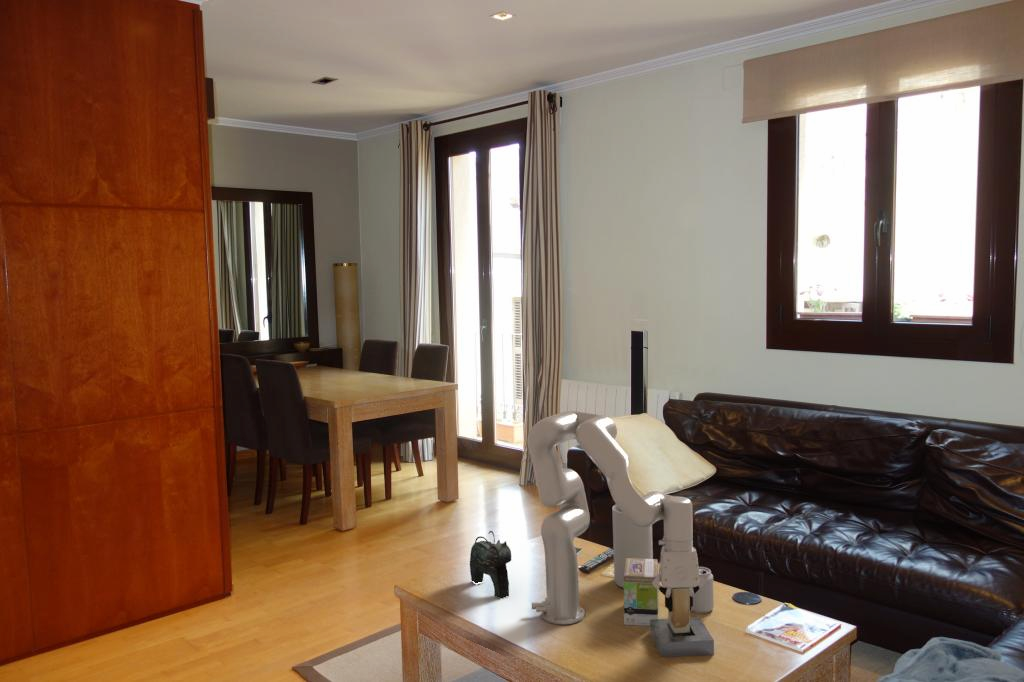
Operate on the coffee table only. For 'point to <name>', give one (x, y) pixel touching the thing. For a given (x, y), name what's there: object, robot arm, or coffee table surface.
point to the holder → (681, 639)
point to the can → (704, 593)
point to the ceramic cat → (491, 564)
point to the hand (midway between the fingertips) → (678, 608)
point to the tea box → (640, 591)
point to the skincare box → (680, 610)
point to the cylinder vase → (628, 543)
